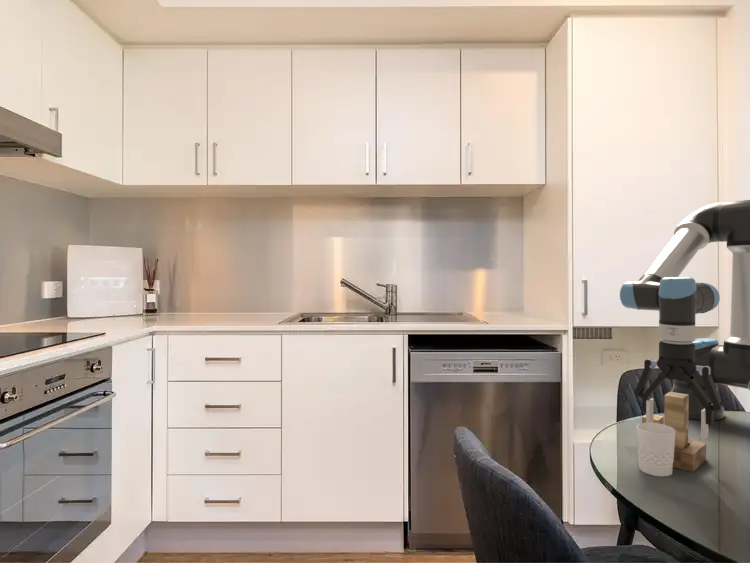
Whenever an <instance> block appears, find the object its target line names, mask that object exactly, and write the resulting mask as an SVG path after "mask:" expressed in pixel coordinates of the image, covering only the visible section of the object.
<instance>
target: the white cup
mask: <svg viewBox="0 0 750 563" xmlns="http://www.w3.org/2000/svg"><path fill="white" fill-rule="evenodd" d="M675 433H676V431H675V429H674V428H672V427H670V426H667V425H663V424H658V423H642V422H641V423H640V422H639V423H638V424H636V440H637V442H636V443H637V453H638V454H637V456H638V467H639V470H640V471H641V472H643V473H644V474H647V475H651V476H654V477H669V476H672V475H673V468H674V467H673V462H674V451H675Z"/></svg>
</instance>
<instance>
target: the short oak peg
mask: <svg viewBox="0 0 750 563" xmlns="http://www.w3.org/2000/svg"><path fill="white" fill-rule="evenodd" d="M641 423H646V414H644V415H643V416H641ZM653 423H658V424H663V425H664V416H662V415H658V414H653Z"/></svg>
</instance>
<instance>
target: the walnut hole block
mask: <svg viewBox="0 0 750 563" xmlns="http://www.w3.org/2000/svg"><path fill="white" fill-rule="evenodd" d="M706 460H707V443H705V442H701V441H698V440H697V441H696V440H693V439H689V438H688V447H686V448H685V449H682V448H677V447H675V451H674V462H673V468H676V469H680V470H683V471H686V472H687V471H688V472H691V473H694V472H695V471H696V470H697V469H698V468H699V467H701V465H702V464H703V463H704V462H705V461H706Z"/></svg>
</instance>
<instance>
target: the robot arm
mask: <svg viewBox="0 0 750 563" xmlns="http://www.w3.org/2000/svg"><path fill="white" fill-rule="evenodd" d="M716 242H717V243H718V242H721V243H722V242H724V243H725V242H726V249H728V251H730V252H731V253H732V261H731V262H732V267H731V268H732V269H731V303H730V329H729V330H730V331H729V332H730V333H729V335H728V336H727V337H725V338H724V340H723V344H719V342H720V341H719V340H718V339H717V338H707V337H706V338H704V337H703V338H696V315H698V314H705V313H708V312H711V311H713V310H714V309H716V307H717V306H718V305H719V304H720V300H721V299H720V293H719V291H718V289H717V288H716V287H715V286H713V284H711V283H708V282H707V283H706V282H696V280H695V278H693V277H691V276H690V277H689V276H687V277H686V276H680V275H681V274H682V272H683V271H684V270H685V269H686V267H687V266H688V264H689V263H690V262H691V260H692V259H693V258H694V257H695V255H696V254H697V253H698V251H699V250H702V249H704V248H705V247H707V245H709V244H710V243H716ZM619 300H620V303H621V305H622V306H623V307H625V308H627V309H633V310H637V311H639V310H641V311H656V312H657V311H658V313H659V314H658V315H659V318H658V338H659V339H660V341H659V342H658V359H657V360H656V359H653V358H647V359H645V360H644V364H643V366H644V368H643V371H642V374H641V376H640V378H639V380H638V383H637V385H636V387H635V389H634V392H633V394H634V396H636V397H639V398H641V401H642V402H641V403H642V404H641V405H642V407H641V410H642V412H643V413H644V412H645V415H646V423H653V415H654V409H655V408H654V407H655V406H654V404H655V402H654V398H650V397H652V395H653V394H654V393H655V391H656V390H658V388H659V387H661V384H662V383H664V382H665V380H666V379H668V380H671V381H672V380H673V381H672V384H673V386H672V388H671V391H670V392H675V393H681V394H688V395H689V408H688V419H691V420H698V421H699V420H700V439H702V440H705V439H706V438H708V437H709V426H711V425H712V424H713V423H714V421H718V420H721V419H724V418H725V408H724V404H723V401H722V399H721V397H720V393H719V391H718V384H719V385H723V386H730V387H735V388H741V389H748V390H749V391H750V199H747V200H744V199H743V200H734V201H724V202H714V203H710V204H707V205H705V206H703V207H700V208H699V209H696V210H695V211H693V212H692V213H691V214H689V215H688V216H686V217H685V218H683V220H681V222H680V223H679V224H677V226H676V228H675V229H674V232H673V237H672V238H671V239H670V240H669V242H668V243H667V244H666V245H665V247H664V248H663V250H661V251H660V253H659V254H658V255H657V257H656V258H655V260H653V262H652V263H651V264H650V266H649V267H648V268H647V269H646V270H645V272H644V273H643V274H642V275H641V277H640V278H639V279H638V280H637V281H634V280H632V281H626V282H624V283H623V284H622V285H621V287H620V291H619ZM656 366H657V367H658V369H659V370H660V371H661V372H660V373H659V374H658V376H657V377H656V378H655V380H653V382H652V383H651V384H650V385H649V387H648V388H647V389H646V386H647V383H648V381H649V380H650V377H651V374H652V372H653V369H655V368H656ZM645 389H646V390H645ZM644 390H645V391H644Z"/></svg>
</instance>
